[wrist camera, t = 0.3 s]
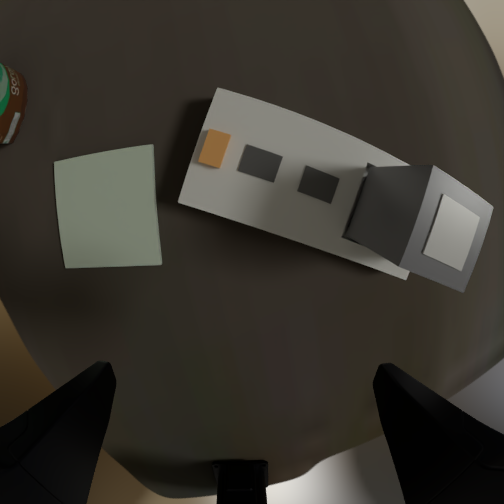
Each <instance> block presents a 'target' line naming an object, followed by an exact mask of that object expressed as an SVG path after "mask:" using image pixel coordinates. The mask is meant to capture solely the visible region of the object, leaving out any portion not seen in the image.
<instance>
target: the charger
mask: <svg viewBox="0 0 504 504" xmlns="http://www.w3.org/2000/svg"><path fill="white" fill-rule="evenodd" d="M492 211H493V206H492V205H490V204H489V203H488V202H486V201H485V200H484V199H482V198H481V197H480V196H478V195H477V194H476V193H474V192H473V191H471V190H470V189H469V188H467V187H466V186H464V185H463V184H461V183H460V182H459V181H457V180H456V179H454V178H453V177H451V176H450V175H448V174H447V173H445V172H443V171H442V170H440V169H439V168H437V167H436V166H434V165H413V166H384V167H370V169H369V172H368V175H367V177H365V180H364V183H363V185H362V188H361V191H360V194H359V197H358V200H357V203H356V206H355V208H354V211H353V214H352V217H351V219H350V222H349V225H348V228H349V229H348V232H347V234H346V236H348V237H350V238H352V239H353V240H355V241H357V242H358V243H360V244H362V245H363V246H365V247H367V248H369V249H370V250H372V251H374V252H375V253H377V254H379V255H380V256H382V257H383V258H385V259H387V260H388V261H390V262H392V263H393V264H395V265H396V266H398V267H400V268H403V269H405V270H408V271H411V272H413V273H416V274H418V275H421V276H423V277H426V278H428V279H431V280H433V281H436V282H438V283H441V284H443V285H446V286H448V287H450V288H453V289H455V290H458V291H460V292H462V293H464V290H465V288H466V286H467V283H468V281H469V278H470V276H471V274H472V271H473V268H474V266H475V263H476V261H477V258H478V255H479V252H480V249H481V247H482V244H483V241H484V238H485V234H486V231H487V228H488V225H489V221H490V218H491V215H492Z"/></svg>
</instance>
